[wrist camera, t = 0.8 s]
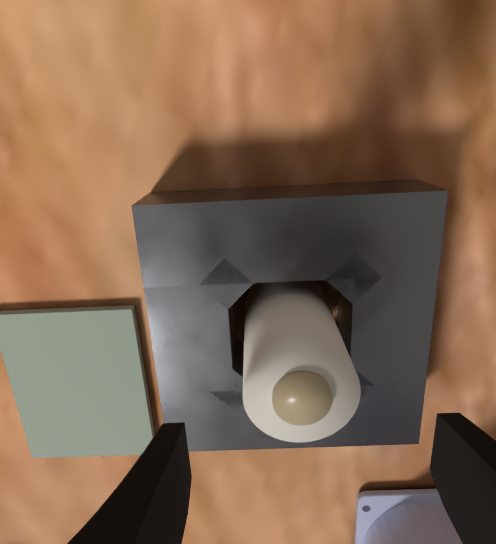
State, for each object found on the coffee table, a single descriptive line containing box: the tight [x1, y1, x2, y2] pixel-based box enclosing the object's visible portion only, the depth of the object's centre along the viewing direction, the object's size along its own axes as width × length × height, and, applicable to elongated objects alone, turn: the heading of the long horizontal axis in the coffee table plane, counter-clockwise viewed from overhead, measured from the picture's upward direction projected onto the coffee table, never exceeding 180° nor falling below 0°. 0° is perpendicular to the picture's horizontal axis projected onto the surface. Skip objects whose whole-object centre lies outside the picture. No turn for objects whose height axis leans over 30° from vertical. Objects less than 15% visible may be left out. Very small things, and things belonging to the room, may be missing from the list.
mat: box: [0, 305, 155, 458], centre depth 22 cm, size 9×7×1 cm
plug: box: [243, 280, 361, 443], centre depth 17 cm, size 4×4×7 cm
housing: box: [132, 180, 448, 451], centre depth 19 cm, size 12×12×3 cm
